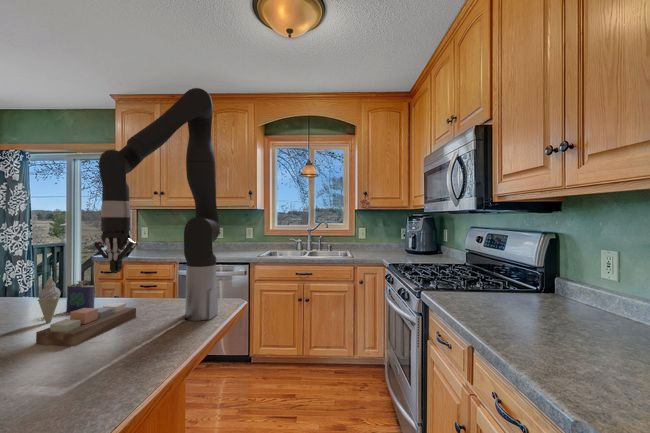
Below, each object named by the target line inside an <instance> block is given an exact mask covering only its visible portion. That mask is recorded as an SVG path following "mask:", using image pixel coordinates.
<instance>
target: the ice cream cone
mask: <svg viewBox="0 0 650 433" xmlns="http://www.w3.org/2000/svg"><path fill="white" fill-rule="evenodd" d="M56 285H57V284H56V283H55V282H54V279H53V278H52V276H51V275H49V277H48V279H47V280H46V283H45V284H44V285H43V289H41V290H40V292H39V293H38V299H37V301H38V304H39V307H40V310H41V313H42V316H43V318H44V321H45V324H52V323H51V322H52V319H53V318H54V314H55V312H56V308H57V306H58V303H59V301H60V299H61V297H60V296H61V290H60V289H59V288H58V287H56Z"/></svg>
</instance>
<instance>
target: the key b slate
mask: <svg viewBox="0 0 650 433" xmlns="http://www.w3.org/2000/svg"><path fill="white" fill-rule="evenodd" d="M111 314H113V308H103V307H98V318H104V317H106V316H109V315H111Z"/></svg>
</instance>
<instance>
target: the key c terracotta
mask: <svg viewBox="0 0 650 433" xmlns="http://www.w3.org/2000/svg"><path fill="white" fill-rule="evenodd" d="M98 308H99V307H98ZM98 308H97V307H94V308H82V309H79V310H75V311H72V312H69V313H70V314H69V319H71V320H81V324H87V323H89V322H92V321H94V320H97V319H98Z"/></svg>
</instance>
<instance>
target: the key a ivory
mask: <svg viewBox="0 0 650 433" xmlns="http://www.w3.org/2000/svg"><path fill="white" fill-rule="evenodd" d="M126 307H127V302H112V303H109V304H105V305H103V306H102V308H113V313H116V312H119V311H122V310H124V309H126Z"/></svg>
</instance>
